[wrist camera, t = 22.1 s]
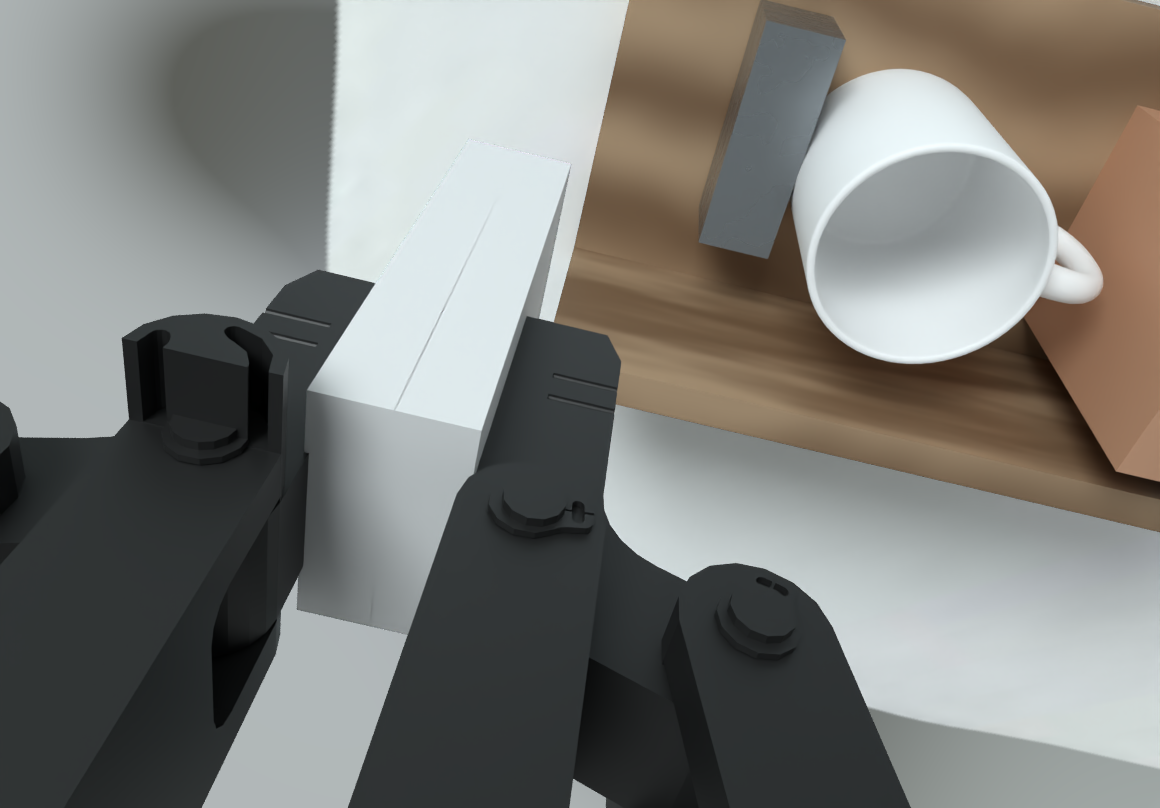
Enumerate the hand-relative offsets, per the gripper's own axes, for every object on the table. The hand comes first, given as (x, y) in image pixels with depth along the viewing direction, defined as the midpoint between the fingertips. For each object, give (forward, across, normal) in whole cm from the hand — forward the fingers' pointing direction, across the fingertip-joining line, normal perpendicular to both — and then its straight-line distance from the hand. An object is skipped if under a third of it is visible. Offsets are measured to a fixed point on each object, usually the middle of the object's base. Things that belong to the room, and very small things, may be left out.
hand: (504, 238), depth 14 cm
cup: (+28, +15, -6) cm, 32 cm away
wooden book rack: (+29, +14, -6) cm, 33 cm away
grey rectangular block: (+28, +7, -5) cm, 29 cm away
